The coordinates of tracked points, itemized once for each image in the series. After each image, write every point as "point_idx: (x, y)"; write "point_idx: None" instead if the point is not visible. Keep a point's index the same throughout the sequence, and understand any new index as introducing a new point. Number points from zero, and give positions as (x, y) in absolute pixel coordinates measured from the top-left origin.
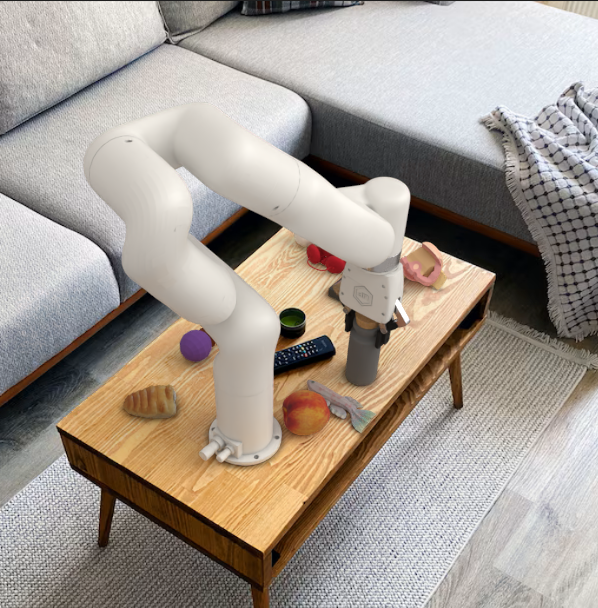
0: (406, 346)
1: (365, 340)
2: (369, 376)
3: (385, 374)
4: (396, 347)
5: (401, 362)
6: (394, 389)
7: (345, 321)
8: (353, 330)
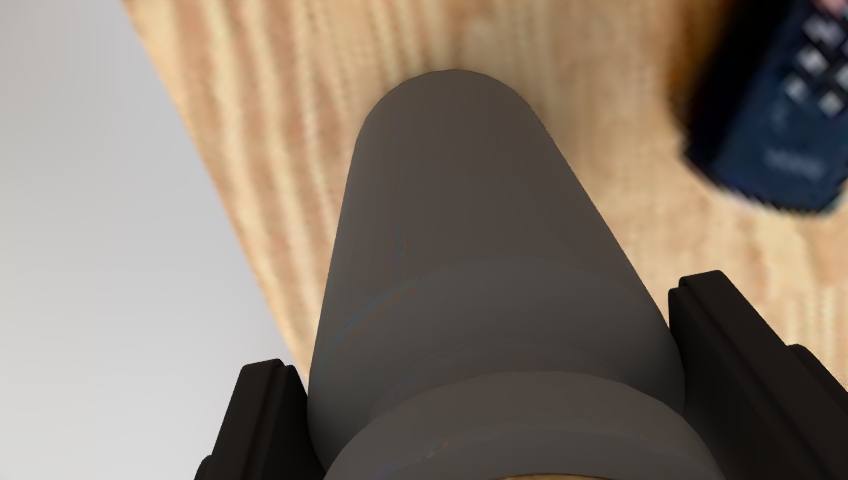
0: None
1: (386, 349)
2: (348, 173)
3: None
4: None
5: None
6: (244, 239)
7: (809, 371)
8: (624, 347)
